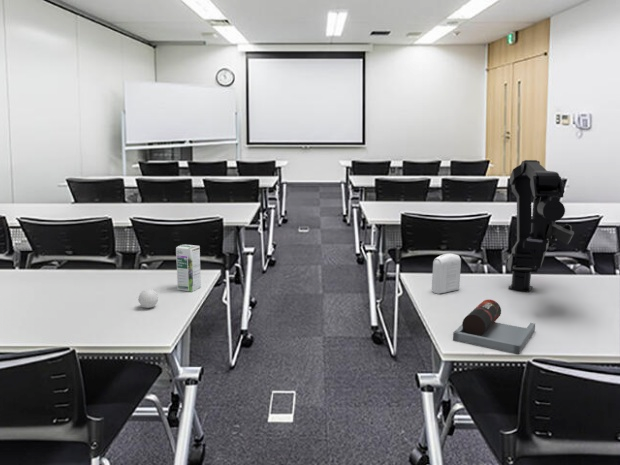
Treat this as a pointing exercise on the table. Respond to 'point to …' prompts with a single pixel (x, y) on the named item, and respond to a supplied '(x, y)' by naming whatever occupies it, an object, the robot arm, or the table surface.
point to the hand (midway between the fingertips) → (538, 267)
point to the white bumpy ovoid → (148, 298)
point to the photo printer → (446, 273)
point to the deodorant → (481, 317)
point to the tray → (498, 337)
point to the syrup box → (188, 267)
